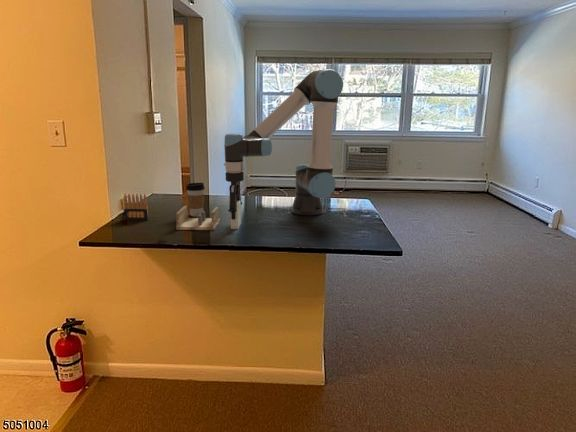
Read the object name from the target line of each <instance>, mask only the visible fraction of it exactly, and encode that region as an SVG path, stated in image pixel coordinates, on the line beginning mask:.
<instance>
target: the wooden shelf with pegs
mask: <svg viewBox="0 0 576 432" xmlns="http://www.w3.org/2000/svg"><path fill="white" fill-rule="evenodd" d="M188 207H189V206H188V205H184V206H182V207H181V208H180V209H179V210H178V211H177V212H176V213H175V221H176V227H175V229H176V231H177V230H180V231H181V230H182V231H184V230H186V231H187V230H188V231H191V230H192V231H215V230H216V228H217V227H218V226H219V224H220V223H221V218H220V216H219V206H215V207H214V209H213V210H212V211H211V212H210V214H211V217H206V211H205V210H203V211H202V212H201V215H198V216H197V217H189V211H188V209H189V208H188Z"/></svg>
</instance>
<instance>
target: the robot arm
mask: <svg viewBox="0 0 576 432" xmlns="http://www.w3.org/2000/svg"><path fill="white" fill-rule="evenodd" d="M343 88H344V80H343V78H342V75H340V73H339V72H338V71H336V70H335V69H331V68H323V69H318V70H313V71H311V72H309V74H307V75H306V76H305V77H304V78H303V79H302V80H301V81H300V82H298V84H297V85H296V86H295V87H294V88H293V92H292V93H291V94H290V95H289V96H288V97H287V98H285V100H284V101H282V102H281V103H280V104H279V105H278V106H277V107H276V108H274V110H273V111H272V112H271V113H270V114H269V115H268V116H267V117H265V118H264V119H263V120H262V121H261V122H260V123H259V124H258V125H257V126H255V128H254V129H253V130H252V131H251V132H249V133H248V134H247V135H244V136H243V134H242V133H227V134H225V135H224V163H223V166H225V171H226V172H225V181H226V182H228V183H229V182H230V185H229V188H228V189H229V209H227V211H228V213H229V212H230V213H229V215H230V216H229V217H230V219H231V220H230V227H231V226H232V227H237V210H236V208H237V201H240V200H241V206H242V205H243V202H242V197H241V182H244V181H245V180H244V177H245V176H244V175H245V174H244V172H243V171H244V169H245V167H244V158H245V157H246V158H248V157H249V158H250V157H268V156H271V154H272V150H273V145H272V140H271V138H272V136H274V134H276V133H277V132H278V131H280V129H282V127H283V126H285V124H286V123H287V122H288V121H289V120H291V119H292V118H293V117H294V116H295V115H296V114H297V113H298V112H299V111H301V110H302V109H303V108H304V107H305V106H310V104H311V105H312V106H313V113H312V114H313V115H312V130H311V142H310V143H311V145H310V146H311V147H310V160H309V163H308V164H304V163H303V164H297V165H296V166H295V172H294V173H295V196H294V200H293V202H292V206H291V212H292V213H293V214H295V215H300V216H317V215H321V214H323V213H324V206H323V202H322V199H324V198H327V197H329V196H330V195H331V194H333V192H334V191H335V188H336V185H337V184H336V179H335V177H334V176H333V170H334V167H333V165H332V164H331V152H332V151H331V150H332V137H333V136H332V135H333V123H334V122H333V121H334V111H335V110H334V108H335V106H337V105H338V103H339V96H340V94H341V93H342V92H343Z"/></svg>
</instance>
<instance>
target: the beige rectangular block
mask: <svg viewBox="0 0 576 432" xmlns="http://www.w3.org/2000/svg"><path fill="white" fill-rule="evenodd" d="M241 202H242V199H241V200H240V201H237V208H236V210H237V227H232V226H231V225H230V230H239V228H240V226H241V224H242V209H241V208H242V207H241V206H242V205H241ZM230 221H231V219H230Z"/></svg>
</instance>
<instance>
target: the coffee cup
mask: <svg viewBox="0 0 576 432" xmlns="http://www.w3.org/2000/svg"><path fill="white" fill-rule="evenodd" d="M185 190H186V192H187V193H186V194H187V195H186V196H187V200H188V207H189V208H188V209H189V215H190V216H191V217H198V215H201V212H202V211H204V205H205V203H204V202H205V192H204V191H205V190H206V187H205V183H204V182H190V183H187V184H186V187H185Z"/></svg>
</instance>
